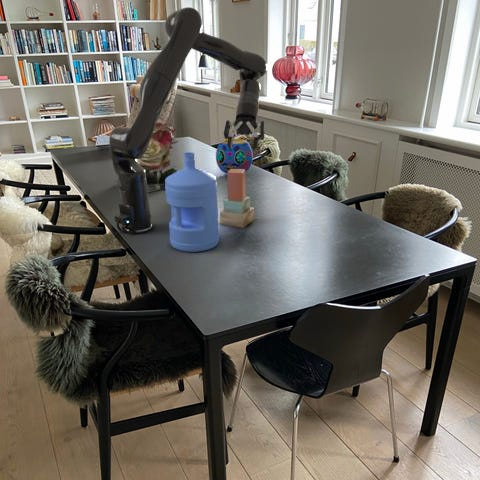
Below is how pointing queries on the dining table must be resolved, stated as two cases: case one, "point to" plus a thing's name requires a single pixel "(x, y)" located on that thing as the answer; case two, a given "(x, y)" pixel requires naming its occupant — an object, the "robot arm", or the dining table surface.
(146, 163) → the rose bouquet
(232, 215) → the stack
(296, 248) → the dining table surface
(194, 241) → the water jug
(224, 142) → the ceramic pot
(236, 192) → the tall block
